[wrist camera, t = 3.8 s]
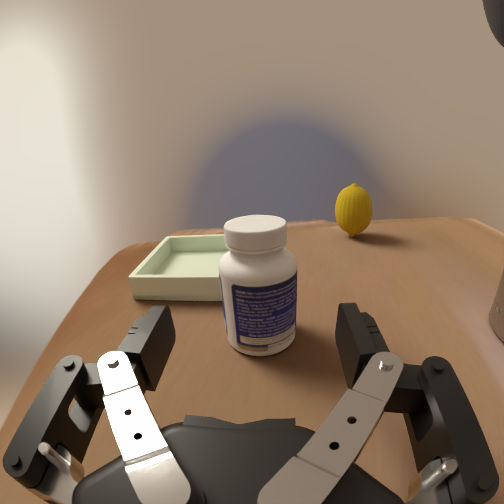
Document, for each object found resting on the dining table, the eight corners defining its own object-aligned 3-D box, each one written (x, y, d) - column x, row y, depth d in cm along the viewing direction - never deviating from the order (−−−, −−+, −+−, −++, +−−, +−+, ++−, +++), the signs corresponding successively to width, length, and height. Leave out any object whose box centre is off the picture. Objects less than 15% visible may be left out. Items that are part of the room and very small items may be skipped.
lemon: (342, 228, 44) (343, 179, 41) (374, 234, 41) (377, 183, 38) (328, 238, 40) (329, 183, 37) (363, 245, 37) (367, 188, 34)
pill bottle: (309, 334, 21) (315, 221, 18) (258, 369, 18) (251, 243, 14) (262, 308, 25) (258, 208, 21) (213, 334, 22) (198, 224, 18)
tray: (257, 251, 37) (256, 233, 36) (251, 300, 26) (250, 276, 25) (169, 253, 38) (166, 236, 37) (133, 299, 27) (127, 277, 26)
